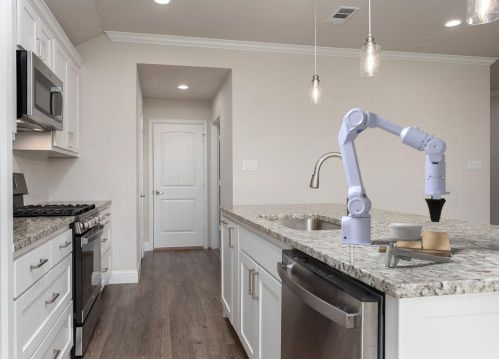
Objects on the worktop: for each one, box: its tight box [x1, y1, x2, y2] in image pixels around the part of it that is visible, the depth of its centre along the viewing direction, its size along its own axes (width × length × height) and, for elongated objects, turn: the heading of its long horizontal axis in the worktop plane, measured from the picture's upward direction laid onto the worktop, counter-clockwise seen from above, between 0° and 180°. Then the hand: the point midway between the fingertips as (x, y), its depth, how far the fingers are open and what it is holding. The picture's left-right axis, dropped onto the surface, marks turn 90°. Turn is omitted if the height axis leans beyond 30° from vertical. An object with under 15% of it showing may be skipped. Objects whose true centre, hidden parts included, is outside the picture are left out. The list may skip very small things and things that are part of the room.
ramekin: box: [388, 222, 423, 241], centre depth 136 cm, size 11×11×5 cm
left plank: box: [395, 240, 423, 249], centre depth 117 cm, size 7×11×1 cm, turn 158°
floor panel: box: [378, 245, 450, 258], centre depth 109 cm, size 18×4×1 cm, turn 68°
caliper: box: [384, 242, 454, 269], centre depth 96 cm, size 20×1×6 cm, turn 109°
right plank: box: [421, 230, 452, 255], centre depth 114 cm, size 7×11×1 cm, turn 158°
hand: (435, 221), depth 117 cm, fingers closed
